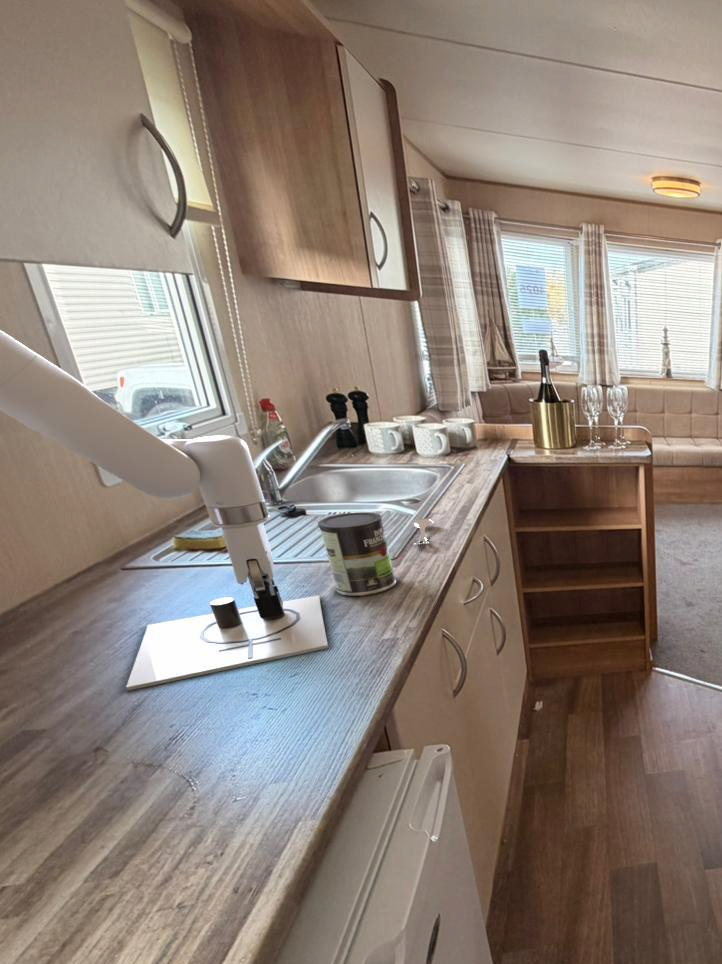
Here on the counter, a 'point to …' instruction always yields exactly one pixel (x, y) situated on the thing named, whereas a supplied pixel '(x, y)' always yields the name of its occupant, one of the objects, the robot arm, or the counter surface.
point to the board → (226, 643)
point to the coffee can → (357, 553)
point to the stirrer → (422, 529)
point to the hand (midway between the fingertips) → (272, 611)
